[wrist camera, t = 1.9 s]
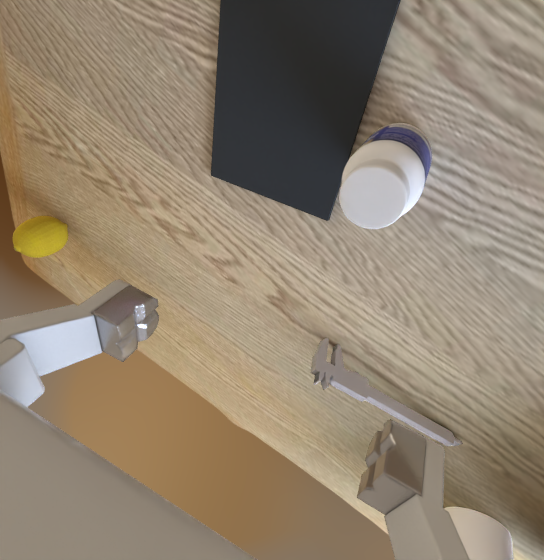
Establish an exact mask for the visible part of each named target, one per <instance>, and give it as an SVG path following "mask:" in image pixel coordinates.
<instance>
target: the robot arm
mask: <svg viewBox="0 0 544 560" xmlns="http://www.w3.org/2000/svg"><path fill="white" fill-rule="evenodd" d="M157 307H158V299H156V298H154V297H152V296H150V295H148V294H147V293H145V292H143V291H141V290H139V289H137V288H135V287H134V286H132V285H130V284H128V283H126V282H124V281H122V280H120V279H119V280H115V281H113V282H112V283H110V284H109V285H107V286H106V287H104V288H103V289H102V290H100V291H99V292H97V293H96V294H94V295H93V296H91V297H90V298H89V299H87V300H86V301H84V302H83V303H81V304H80V305H78V306H77V305H75V304H73V305H68V306H63V307H59V308H54V309H49V310H45V311H40V312H36V313H30V314H26V315H21V316H16V317H12V318H7V319H2V320H0V560H257V559H256V558H254V557H253V556H251V555H250V554H248V553H246V552H245V551H244V550H242V549H240V548H239V547H238V546H236V545H234V544H233V543H232V542H230V541H229V540H227V539H226V538H224V537H222V536H221V535H219V534H218V533H216V532H215V531H213V530H212V529H210V528H209V527H207V526H206V525H204V524H203V523H201V522H200V521H198V520H197V519H195V518H194V517H192V516H191V515H189V514H188V513H186V512H185V511H183V510H182V509H180V508H179V507H177V506H176V505H174V504H173V503H171V502H169V501H168V500H166V499H165V498H164V497H162V496H161V495H159V494H157V493H156V492H154V491H153V490H151V489H150V488H148V487H147V486H145V485H144V484H142V483H141V482H139V481H138V480H136V479H135V478H133V477H132V476H130V475H129V474H127V473H126V472H124V471H123V470H121V469H120V468H118V467H117V466H115V465H114V464H112V463H111V462H109V461H108V460H106V459H105V458H103V457H101V456H100V455H98V454H97V453H96V452H94V451H92V450H91V449H89V448H88V447H86V446H85V445H83V444H82V443H80V442H79V441H77V440H76V439H74V438H73V437H71V436H70V435H68V434H67V433H65V432H64V431H62V430H61V429H59V428H58V427H56V426H55V425H53V424H52V423H50V422H49V421H47V420H46V419H44V418H42V417H41V416H40V415H38V414H36V413H35V412H33V411H32V410H31V409H29V408H28V406H29V405H30V404H31V403H33V402H34V401H35V400H36V399H37V398H38V397H39V396H41V395H42V394H43V393H44V390H45V387H44V386H43V383H42V381H41V379H40V376H42V375H45V374H48V373H50V372H53V371H56V370H58V369H61V368H63V367H66V366H68V365H71V364H74V363H76V362H79V361H81V360H84V359H87V358H89V357H92V356H94V355H97V354H99V353H102V351H103V352H105V353H107V354H109V355H111V356H112V357H115V358H116V359H118V360H120V361H122V362H124V361H125V360H126V359H127V358H128V357H129V356H130V355H131V354H132V353H133V352H134V351H135V350H136V349H137V347H138V342H140V341H143V340H146V339H148V338H149V337H150V336H151V335H152V334H153V332H154V330H155V329H156V327H157V325H158V321H159V315H158V313H157V312H156V310H155V309H156V308H157ZM444 456H445V451H444V448H443V446H442V445H440V444H438V443H436V442H434V441H432V440H430V439H428V438H426V437H424V436H423V435H421V434H419V433H417V432H415V431H413V430H411V429H409V428H407V427H405V426H403V425H401V424H399V423H397V422H395V421H393V420H391V419H390V420H387V422H386V423H385V424H384V427H383V431H378V432H377V433H376V434H375V435H374V436H373V438H372V440H371V442H370V444H369V447H368V450H367V454H366V458H365V461H366V464H367V467H368V469H367V470H366V471H365V472H364V473H363V474H362V476H361V481H360V485H359V490H358V495H357V498H358V499H360V500H362V501H363V502H365V503H367V504H368V505H370V506H371V507H373V508H375V509H376V510H378V511H380V512H381V513H383V514H385V516H384V517H385V521H386V525H387V529H388V533H389V537H390V541H391V545H392V549H393V553H394V557H395V560H470V559H469V557H468V554H467V552H466V550H465V548H464V545H463V543H462V541H461V539H460V536H459V534H458V532H457V530H456V527H455V525H454V523H453V521H452V518H451V516H450V514H449V512H448V511H446V510H445V509H443V493H444Z"/></svg>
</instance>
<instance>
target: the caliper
mask: <svg viewBox="0 0 544 560" xmlns="http://www.w3.org/2000/svg"><path fill="white" fill-rule="evenodd" d="M328 341H329V338H324V339H323V340H322V341H321V342H320V343H319V345H318V347H317V350H316V352H315V354H314V356H313V359H312V367H311V373H312V374H314V375H315V380H314V385H315V384H317V383H318V382H319V381H321V385H322V388H323V390H324V389H326V388H327V387H329V384H330V385H332V386H334V387H335V388H337V389H339V390H341V391H343V392H345V393H346V394H348V395H350V396H352V397H354V398H356V399H357V400H359V401H361V402H362V401H364V400H366V401H367V402H369V403H371V404H373V405H374V406H376V407H378V408H380V409H382V410H383V411H385V412H387V413H389V414H390V415H392V416H394V417H396V418H397V419H399V420H401V421H403V422H405V423H406V424H408V425H410V426H412V427H413V428H415V429H417V430H419V431H421V432H422V433H424V434H426V435H428V436H430V437H431V438H433V439H435V440H437V441H439V442H440V443H442V444H444V445H446V446H447V447H448V446H451V445H453V446H457V445H460V444H463V443H462V442H461V441H460V440H458V439H456V438H455V437H454V436H453V433H452V432H451V431H449V430H447V429H446V428H444V427H442V426H440V425H439V424H437V423H435V422H433V421H431V420H430V419H428V418H426V417H424V416H423V415H421V414H419V413H417V412H415V411H414V410H412V409H410V408H408V407H407V406H405V405H403V404H401V403H400V402H398V401H396V400H394V399H393V398H391V397H389V396H387V395H386V394H384V393H382V392H380V391H379V390H377V389H375V388H373V387H372V386H370V385H368V378H367V377H364V376H361V375H360V374H359V373H358V372H355V371H348V370H346V369H345V368H344V363H343V357H342V351H341V347H340V345H339V344H337V345H336V346H335V347H333V353H332V356H331V363H329V362H327V361H326V359H327V349H328Z"/></svg>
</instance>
